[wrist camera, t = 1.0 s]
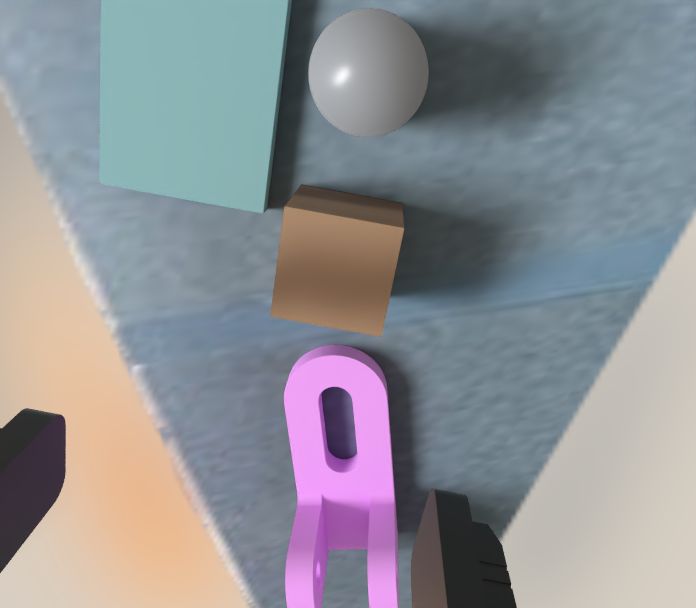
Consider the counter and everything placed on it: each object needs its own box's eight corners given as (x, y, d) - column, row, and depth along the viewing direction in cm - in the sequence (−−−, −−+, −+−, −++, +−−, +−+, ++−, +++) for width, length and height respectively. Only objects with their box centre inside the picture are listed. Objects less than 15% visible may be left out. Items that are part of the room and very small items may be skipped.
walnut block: (301, 184, 29) (284, 206, 24) (401, 202, 29) (404, 228, 24) (288, 279, 31) (270, 316, 26) (382, 296, 31) (381, 336, 26)
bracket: (397, 531, 36) (399, 630, 30) (308, 533, 37) (291, 631, 30) (383, 341, 32) (382, 410, 25) (282, 346, 32) (255, 416, 26)
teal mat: (112, -49, 25) (101, -54, 24) (293, -16, 25) (290, -19, 24) (108, 179, 29) (99, 183, 28) (267, 209, 29) (262, 213, 28)
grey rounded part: (332, 12, 26) (318, -3, 21) (430, 30, 26) (440, 20, 21) (317, 115, 27) (300, 126, 22) (409, 132, 27) (414, 146, 22)
